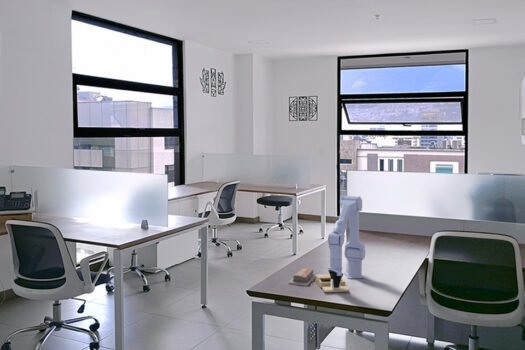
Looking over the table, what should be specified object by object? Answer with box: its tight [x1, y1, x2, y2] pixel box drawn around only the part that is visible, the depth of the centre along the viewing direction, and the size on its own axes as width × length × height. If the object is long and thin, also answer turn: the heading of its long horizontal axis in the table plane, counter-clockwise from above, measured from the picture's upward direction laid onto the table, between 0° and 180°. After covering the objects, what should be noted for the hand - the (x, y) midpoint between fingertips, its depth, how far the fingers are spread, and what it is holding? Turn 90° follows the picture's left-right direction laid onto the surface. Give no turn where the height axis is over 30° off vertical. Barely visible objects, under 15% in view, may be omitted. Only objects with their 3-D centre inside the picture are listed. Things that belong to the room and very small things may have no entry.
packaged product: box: [288, 267, 317, 287], centre depth 258 cm, size 18×5×10 cm
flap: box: [321, 279, 350, 293], centre depth 239 cm, size 6×12×5 cm, turn 96°
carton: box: [315, 273, 346, 289], centre depth 250 cm, size 12×12×4 cm
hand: (335, 286), depth 239 cm, fingers closed on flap, 3 cm apart
